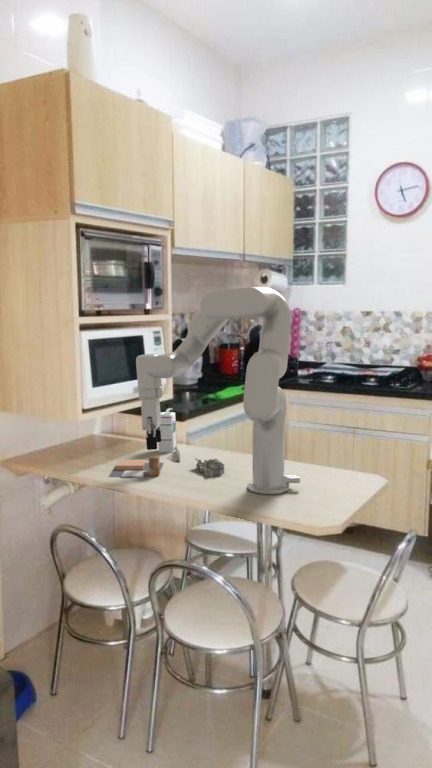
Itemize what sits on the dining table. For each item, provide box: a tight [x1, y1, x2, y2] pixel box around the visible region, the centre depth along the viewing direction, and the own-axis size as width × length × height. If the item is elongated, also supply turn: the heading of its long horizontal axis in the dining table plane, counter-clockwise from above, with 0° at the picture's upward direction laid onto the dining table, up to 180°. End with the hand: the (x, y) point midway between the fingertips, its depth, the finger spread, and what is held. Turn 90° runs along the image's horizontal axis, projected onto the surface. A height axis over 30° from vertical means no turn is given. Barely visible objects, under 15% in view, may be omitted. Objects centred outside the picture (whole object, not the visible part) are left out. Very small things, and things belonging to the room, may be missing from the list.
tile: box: [115, 459, 147, 470], centre depth 201 cm, size 2×7×9 cm
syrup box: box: [157, 411, 178, 453], centre depth 221 cm, size 6×6×14 cm
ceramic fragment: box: [166, 447, 181, 463], centre depth 212 cm, size 14×5×4 cm, turn 5°
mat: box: [107, 462, 164, 478], centre depth 198 cm, size 16×16×1 cm
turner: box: [120, 455, 161, 479], centre depth 192 cm, size 12×6×6 cm, turn 87°
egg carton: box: [195, 457, 225, 477], centre depth 196 cm, size 11×8×4 cm
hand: (154, 445), depth 190 cm, fingers open, 9 cm apart
